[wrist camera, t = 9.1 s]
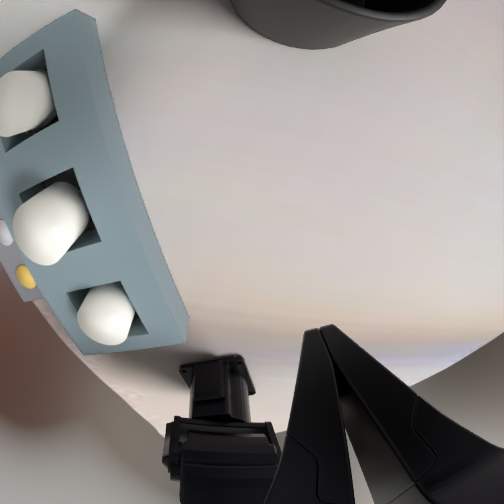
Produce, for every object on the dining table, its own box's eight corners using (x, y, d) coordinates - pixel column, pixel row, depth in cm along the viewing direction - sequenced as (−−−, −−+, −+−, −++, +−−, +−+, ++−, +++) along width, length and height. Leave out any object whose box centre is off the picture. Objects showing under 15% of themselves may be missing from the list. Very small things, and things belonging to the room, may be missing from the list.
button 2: (146, 310, 22) (137, 342, 19) (106, 317, 23) (94, 347, 19) (125, 269, 20) (111, 299, 17) (84, 279, 21) (67, 308, 17)
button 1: (68, 113, 14) (38, 119, 11) (26, 136, 15) (-5, 147, 11) (57, 61, 13) (26, 58, 9) (15, 87, 13) (-17, 91, 9)
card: (59, 292, 22) (56, 295, 21) (25, 299, 22) (23, 303, 21) (-4, 144, 15) (-8, 146, 14) (-34, 168, 15) (-38, 170, 14)
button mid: (98, 229, 17) (76, 257, 14) (55, 243, 17) (31, 271, 14) (76, 173, 15) (47, 191, 12) (33, 192, 15) (3, 213, 12)
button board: (189, 316, 24) (186, 342, 21) (93, 332, 24) (83, 355, 22) (95, 18, 12) (75, 9, 9) (-8, 84, 12) (-33, 87, 10)
